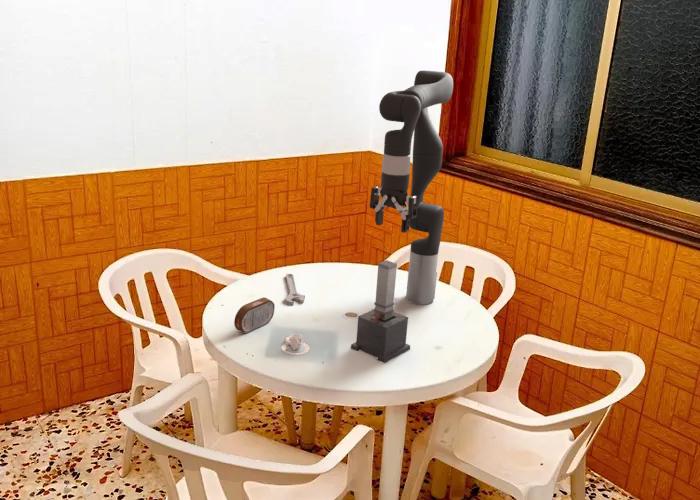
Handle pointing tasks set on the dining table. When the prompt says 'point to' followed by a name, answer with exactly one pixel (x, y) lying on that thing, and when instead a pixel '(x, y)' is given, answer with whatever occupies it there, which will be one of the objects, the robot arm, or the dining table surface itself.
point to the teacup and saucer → (294, 344)
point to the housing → (381, 336)
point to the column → (385, 290)
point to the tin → (254, 315)
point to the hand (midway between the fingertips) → (391, 228)
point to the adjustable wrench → (293, 292)
